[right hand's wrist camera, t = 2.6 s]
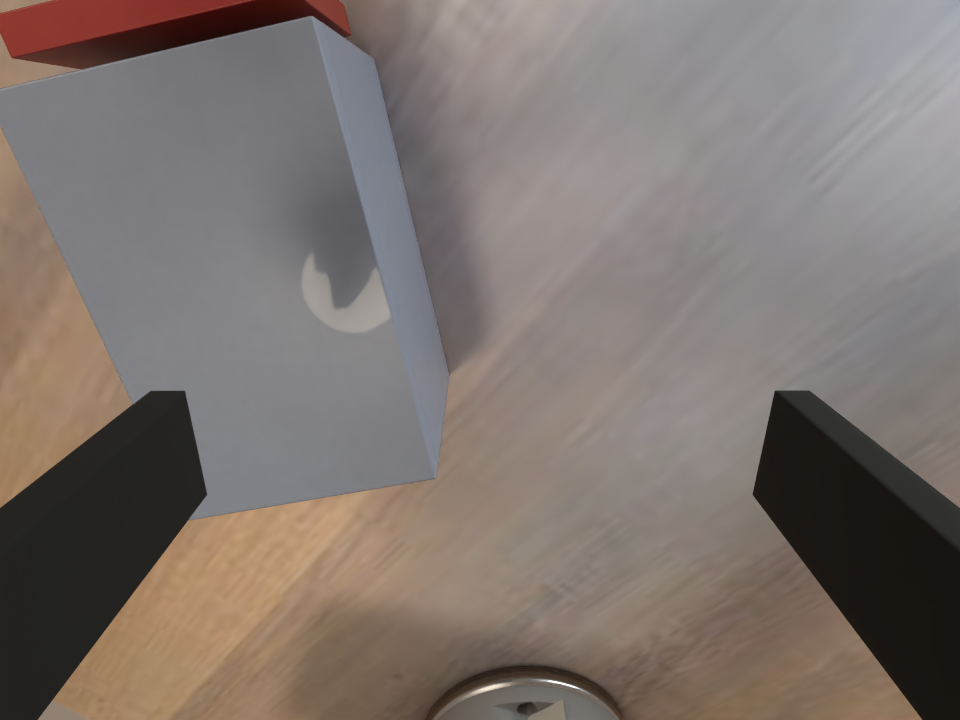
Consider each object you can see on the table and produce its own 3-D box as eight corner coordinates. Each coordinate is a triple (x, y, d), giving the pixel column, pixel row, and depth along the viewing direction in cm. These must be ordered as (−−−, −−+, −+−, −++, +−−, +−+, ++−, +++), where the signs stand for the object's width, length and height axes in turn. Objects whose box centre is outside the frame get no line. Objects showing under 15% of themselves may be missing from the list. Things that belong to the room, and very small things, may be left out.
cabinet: (160, 107, 26) (-18, 91, 17) (374, 58, 26) (312, 14, 16) (272, 408, 32) (187, 521, 23) (449, 376, 32) (436, 479, 22)
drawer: (89, -92, 23) (-108, -205, 15) (306, -147, 22) (214, -296, 15) (256, 359, 30) (180, 436, 23) (423, 328, 29) (404, 395, 22)
